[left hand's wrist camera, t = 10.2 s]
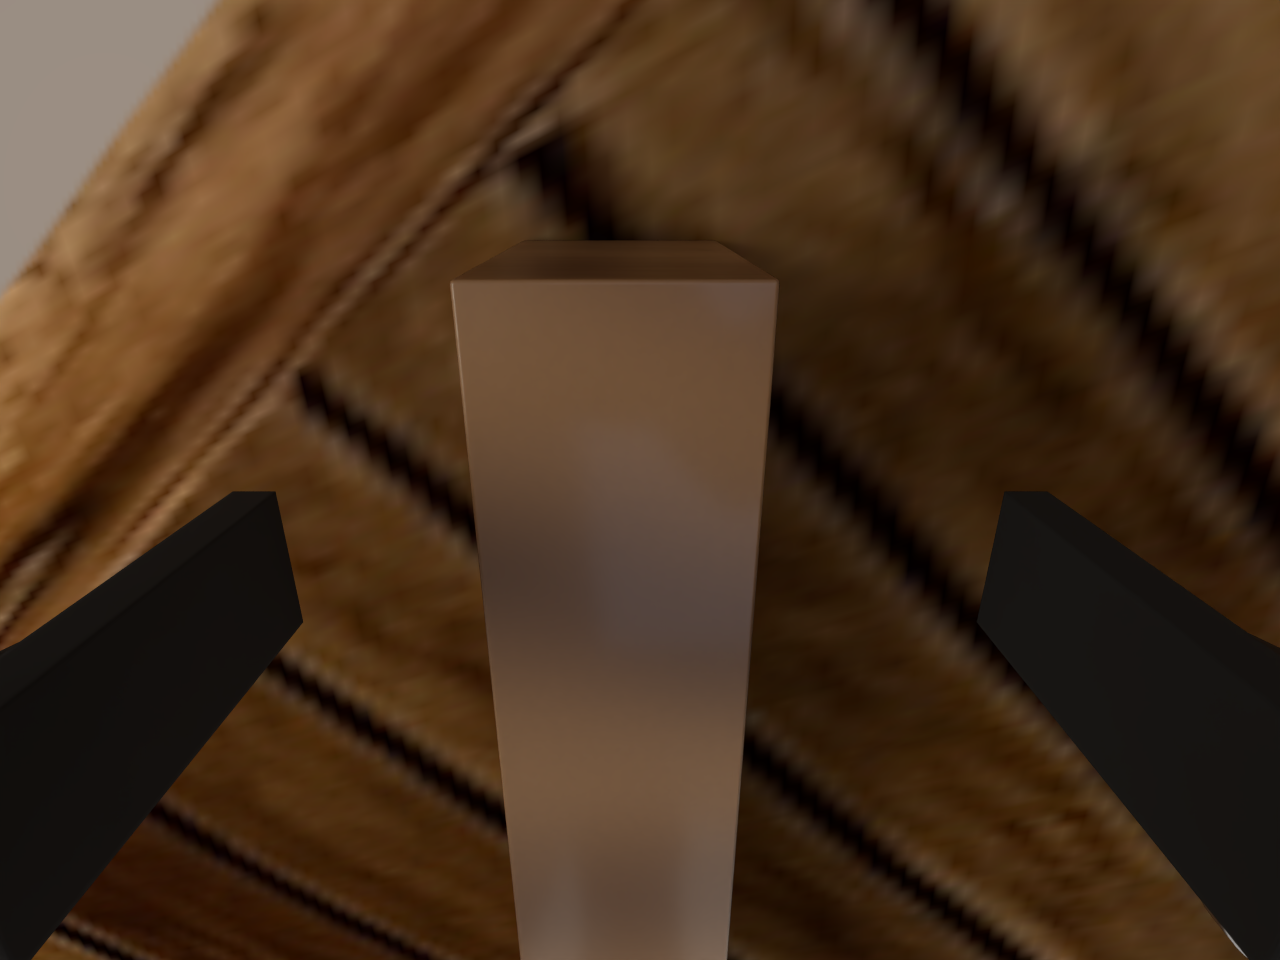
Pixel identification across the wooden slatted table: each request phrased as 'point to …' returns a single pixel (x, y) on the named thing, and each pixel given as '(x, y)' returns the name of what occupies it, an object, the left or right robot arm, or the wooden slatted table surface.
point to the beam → (618, 576)
